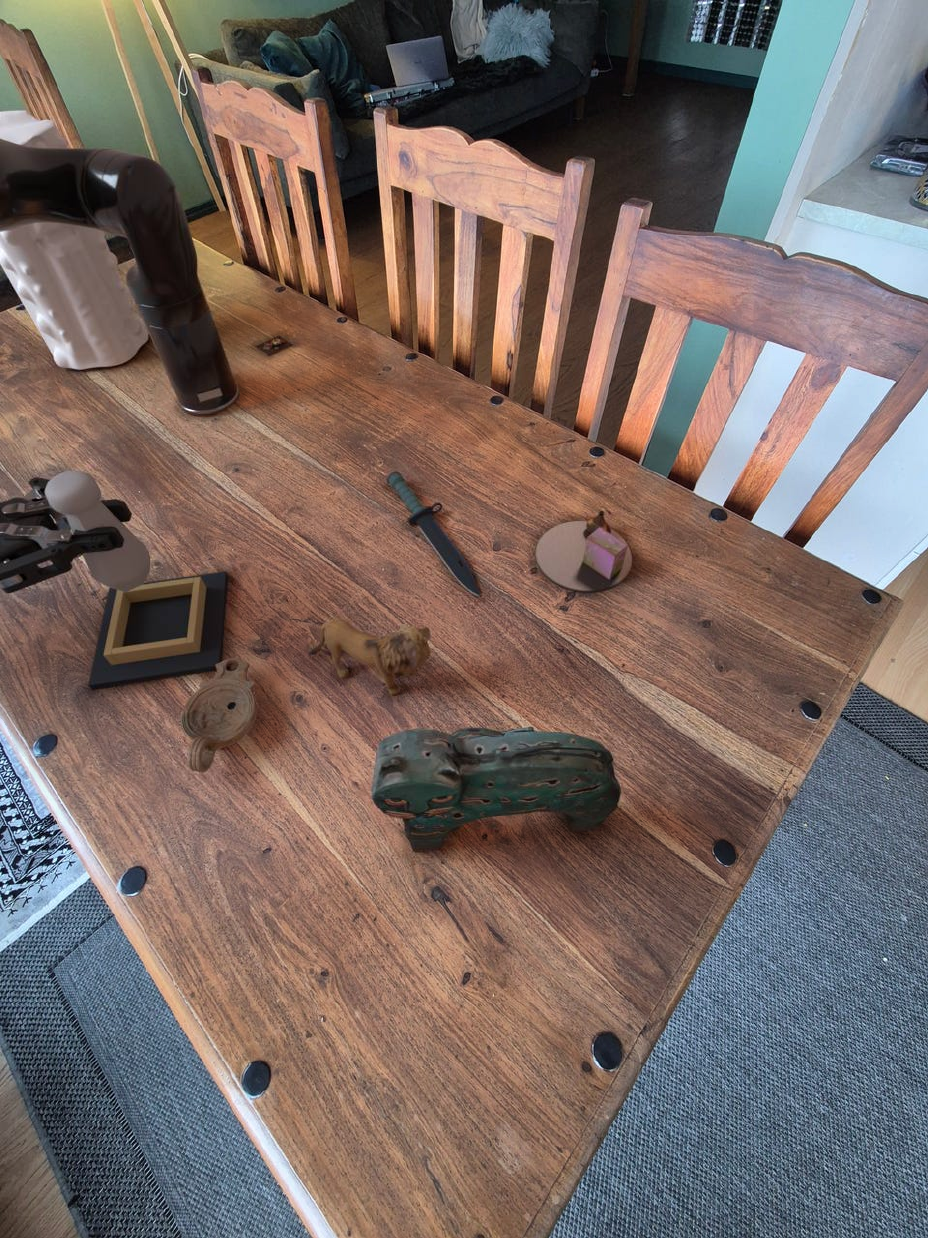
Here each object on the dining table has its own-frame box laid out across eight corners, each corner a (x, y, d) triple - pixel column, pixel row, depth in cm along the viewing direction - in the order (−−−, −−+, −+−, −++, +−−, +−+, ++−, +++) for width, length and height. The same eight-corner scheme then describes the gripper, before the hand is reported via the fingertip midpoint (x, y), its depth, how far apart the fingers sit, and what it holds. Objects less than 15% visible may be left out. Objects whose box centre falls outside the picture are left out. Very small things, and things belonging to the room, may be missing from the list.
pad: (113, 592, 78) (101, 576, 76) (228, 576, 79) (220, 560, 77) (92, 690, 70) (78, 675, 67) (221, 670, 71) (212, 655, 69)
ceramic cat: (394, 866, 58) (358, 777, 42) (392, 797, 62) (360, 691, 46) (611, 845, 58) (658, 749, 42) (596, 778, 62) (634, 667, 46)
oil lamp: (214, 668, 71) (198, 643, 67) (279, 674, 70) (267, 648, 66) (169, 780, 63) (148, 758, 59) (241, 787, 63) (225, 766, 59)
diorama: (287, 345, 111) (284, 333, 109) (269, 353, 110) (266, 341, 108) (278, 338, 113) (275, 327, 111) (260, 346, 111) (257, 335, 109)
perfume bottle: (651, 554, 79) (659, 528, 76) (590, 609, 75) (596, 584, 71) (576, 508, 85) (580, 482, 81) (515, 556, 80) (516, 530, 76)
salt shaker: (166, 558, 69) (111, 461, 58) (146, 599, 65) (83, 504, 55) (114, 555, 69) (49, 458, 59) (91, 596, 65) (18, 501, 55)
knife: (379, 478, 86) (412, 462, 87) (382, 488, 88) (414, 473, 89) (466, 598, 75) (502, 579, 76) (467, 608, 77) (503, 589, 78)
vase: (126, 312, 120) (27, 99, 94) (169, 344, 112) (75, 122, 87) (37, 349, 113) (-96, 129, 87) (77, 385, 105) (-55, 157, 80)
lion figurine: (441, 664, 71) (436, 614, 63) (427, 705, 68) (420, 658, 60) (318, 637, 73) (300, 587, 66) (299, 676, 70) (278, 628, 63)
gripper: (-126, 569, 53) (87, 549, 54) (-61, 460, 61) (122, 445, 62) (-64, 623, 59) (126, 604, 60) (-14, 517, 67) (153, 502, 68)
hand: (123, 523), depth 61 cm, fingers closed on salt shaker, 3 cm apart
